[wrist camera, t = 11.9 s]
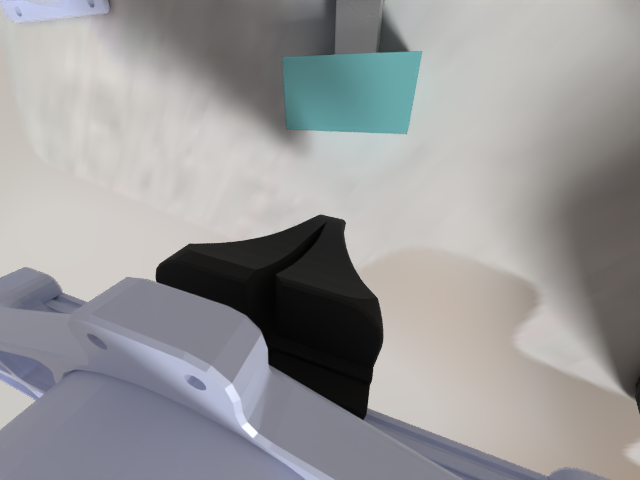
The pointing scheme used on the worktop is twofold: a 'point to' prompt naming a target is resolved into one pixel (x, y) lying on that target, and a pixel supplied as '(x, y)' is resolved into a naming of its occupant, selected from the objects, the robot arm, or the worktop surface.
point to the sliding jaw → (352, 79)
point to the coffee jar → (638, 394)
